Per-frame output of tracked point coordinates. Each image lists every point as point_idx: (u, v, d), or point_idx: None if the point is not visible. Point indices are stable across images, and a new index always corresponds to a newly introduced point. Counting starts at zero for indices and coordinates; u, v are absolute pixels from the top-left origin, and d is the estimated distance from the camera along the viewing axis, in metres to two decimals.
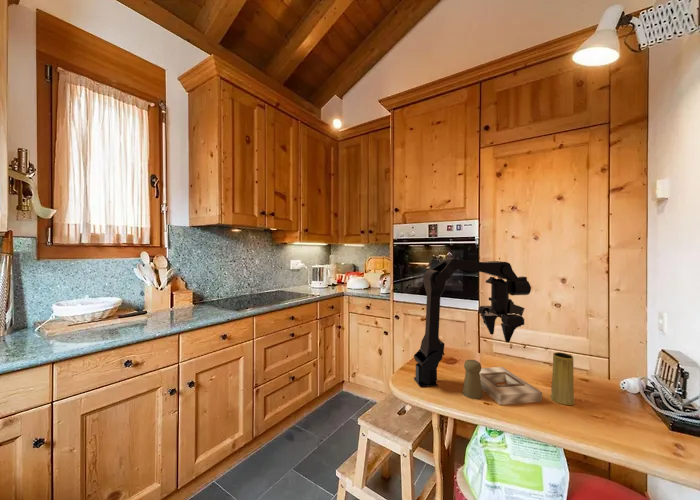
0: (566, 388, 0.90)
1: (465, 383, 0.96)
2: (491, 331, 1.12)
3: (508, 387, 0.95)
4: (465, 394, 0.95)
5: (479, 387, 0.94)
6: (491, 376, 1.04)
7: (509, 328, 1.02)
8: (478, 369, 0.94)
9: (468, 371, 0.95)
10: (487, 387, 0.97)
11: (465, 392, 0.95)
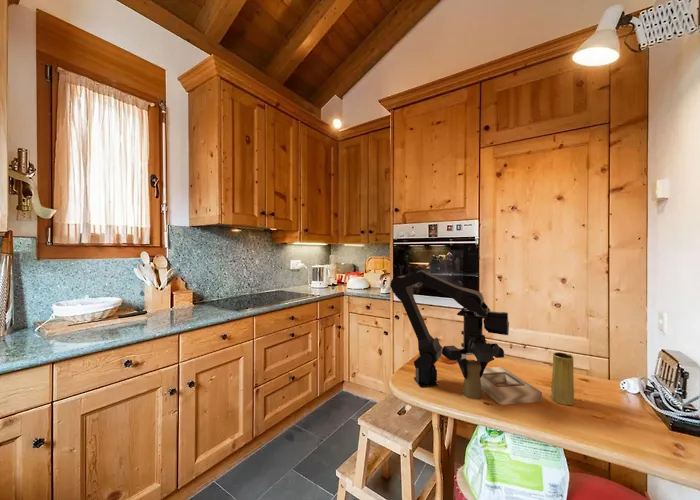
0: (566, 388, 0.90)
1: (465, 382, 0.96)
2: None
3: (508, 387, 0.95)
4: (465, 394, 0.95)
5: (479, 387, 0.94)
6: (491, 376, 1.04)
7: (461, 362, 0.96)
8: (478, 369, 0.94)
9: (468, 371, 0.95)
10: (487, 387, 0.97)
11: (465, 392, 0.95)
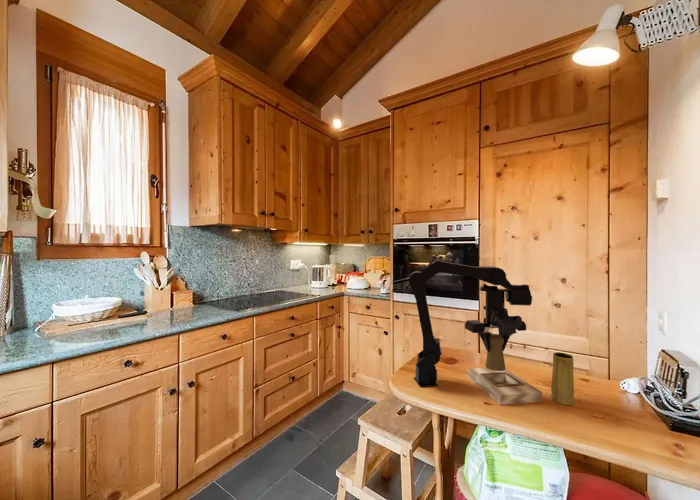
0: (566, 388, 0.90)
1: (488, 356, 0.99)
2: None
3: (508, 387, 0.95)
4: (488, 367, 0.98)
5: (502, 359, 0.97)
6: (491, 376, 1.04)
7: (484, 335, 0.99)
8: (501, 342, 0.96)
9: (491, 344, 0.98)
10: (487, 387, 0.97)
11: (488, 365, 0.98)
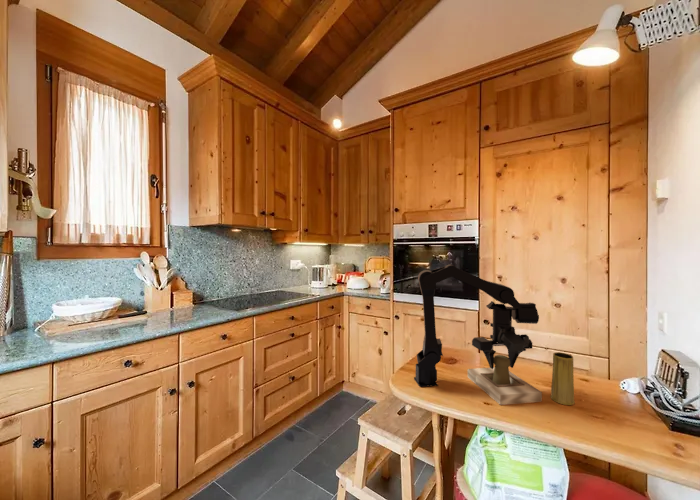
0: (566, 388, 0.90)
1: (494, 377, 1.00)
2: (510, 363, 1.01)
3: (508, 387, 0.95)
4: None
5: (508, 381, 0.98)
6: (491, 376, 1.04)
7: (488, 353, 1.00)
8: (507, 364, 0.98)
9: (497, 366, 0.99)
10: (487, 387, 0.97)
11: None
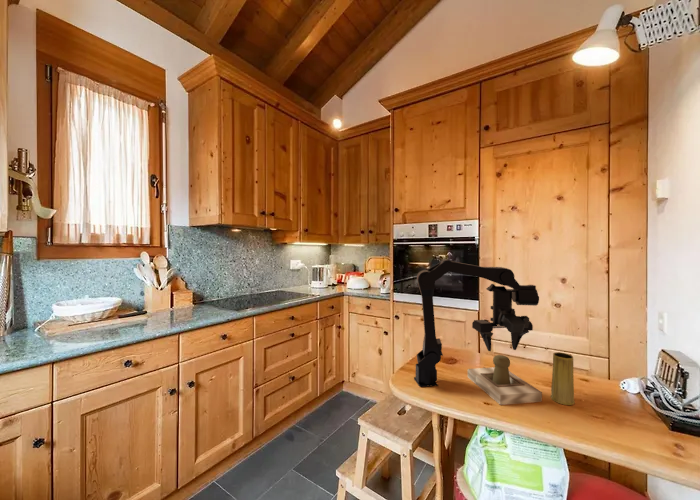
0: (566, 388, 0.90)
1: (494, 377, 1.00)
2: (513, 346, 1.01)
3: (508, 387, 0.95)
4: None
5: (508, 381, 0.98)
6: (491, 376, 1.04)
7: (485, 335, 0.99)
8: (507, 364, 0.98)
9: (497, 366, 0.99)
10: (487, 387, 0.97)
11: None
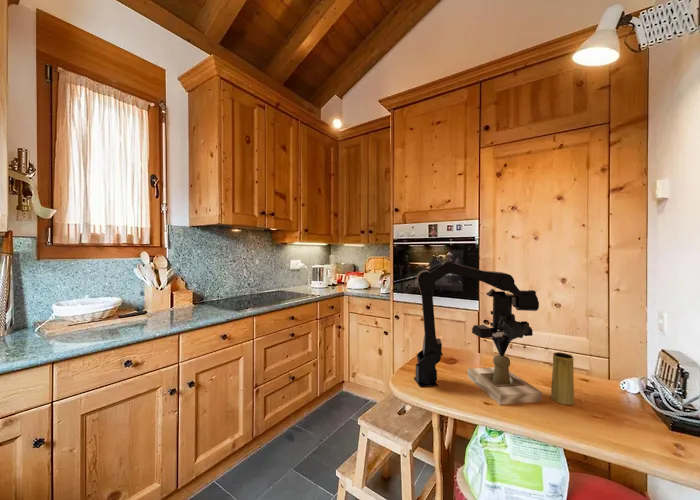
0: (566, 388, 0.90)
1: (494, 377, 1.00)
2: None
3: (508, 387, 0.95)
4: None
5: (508, 381, 0.98)
6: (491, 376, 1.04)
7: (497, 340, 1.00)
8: (507, 364, 0.98)
9: (497, 366, 0.99)
10: (487, 387, 0.97)
11: None
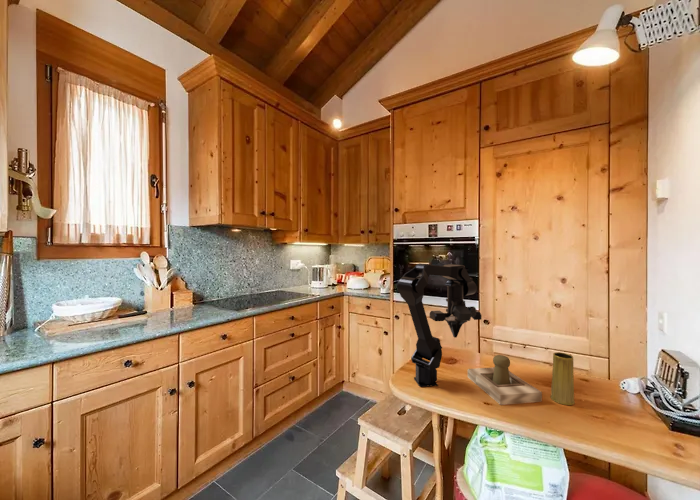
0: (566, 388, 0.90)
1: (494, 377, 1.00)
2: None
3: (508, 387, 0.95)
4: None
5: (508, 381, 0.98)
6: (491, 376, 1.04)
7: None
8: (507, 364, 0.98)
9: (497, 366, 0.99)
10: (487, 387, 0.97)
11: None
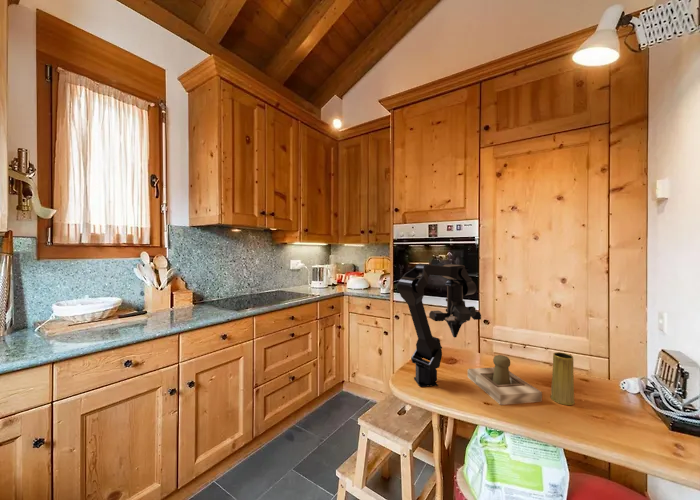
0: (566, 388, 0.90)
1: (494, 377, 1.00)
2: None
3: (508, 387, 0.95)
4: None
5: (508, 381, 0.98)
6: (491, 376, 1.04)
7: (451, 323, 1.14)
8: (507, 364, 0.98)
9: (498, 366, 0.99)
10: (487, 387, 0.97)
11: None
